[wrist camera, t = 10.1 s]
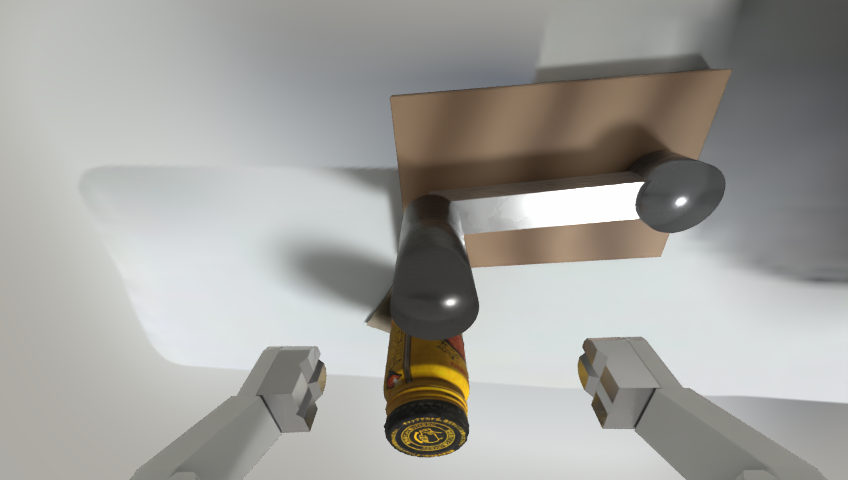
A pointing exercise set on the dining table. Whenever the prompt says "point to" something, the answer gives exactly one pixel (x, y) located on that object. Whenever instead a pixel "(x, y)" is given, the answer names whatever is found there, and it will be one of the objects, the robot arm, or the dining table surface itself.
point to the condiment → (423, 390)
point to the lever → (531, 208)
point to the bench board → (552, 150)
